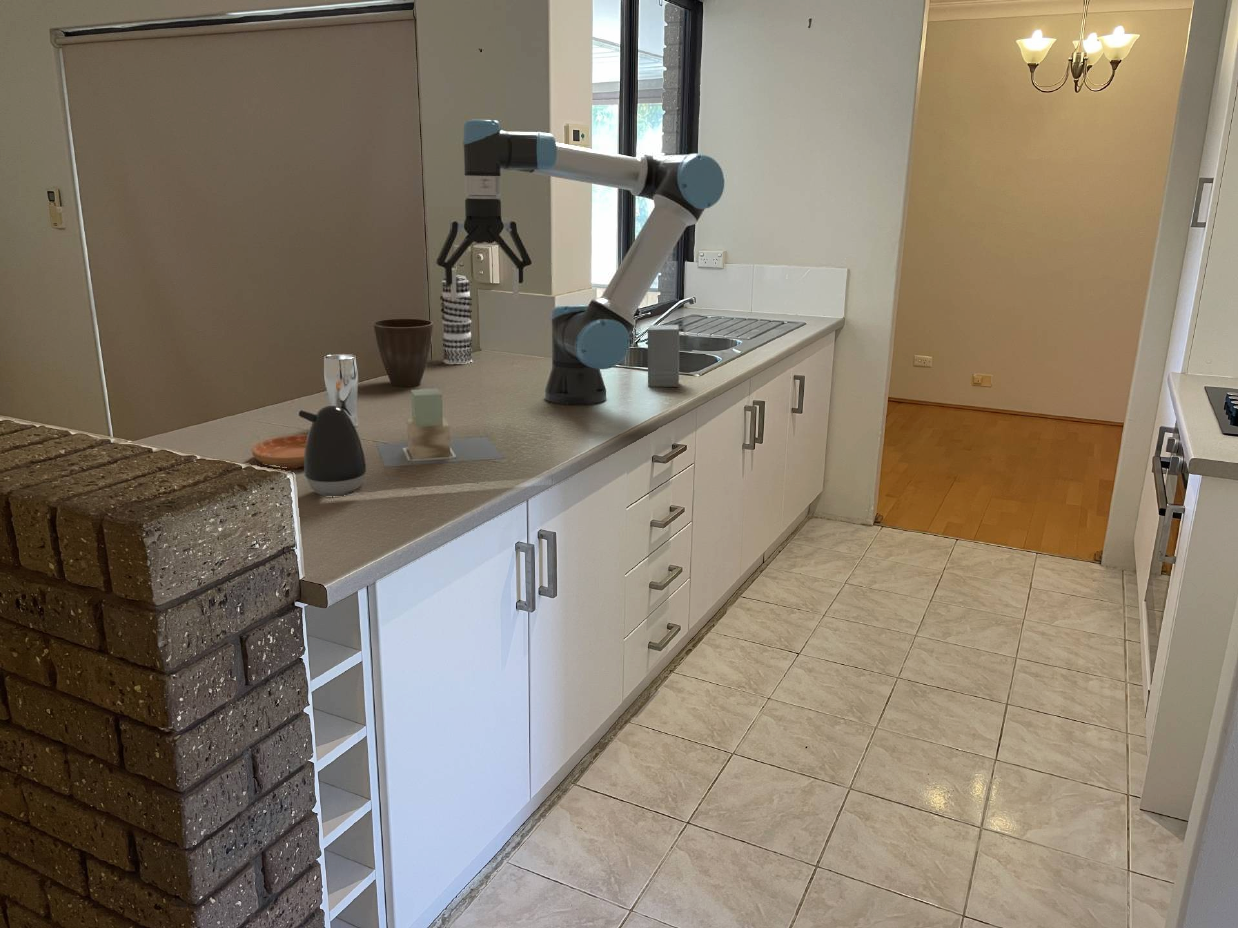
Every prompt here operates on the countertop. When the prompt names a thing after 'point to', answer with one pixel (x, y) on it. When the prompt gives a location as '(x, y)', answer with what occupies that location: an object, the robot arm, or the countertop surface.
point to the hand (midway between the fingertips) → (485, 299)
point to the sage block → (427, 407)
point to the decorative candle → (457, 322)
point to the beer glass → (342, 382)
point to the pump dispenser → (333, 453)
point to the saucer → (282, 451)
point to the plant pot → (404, 348)
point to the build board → (458, 453)
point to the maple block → (428, 440)
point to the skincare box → (663, 355)
